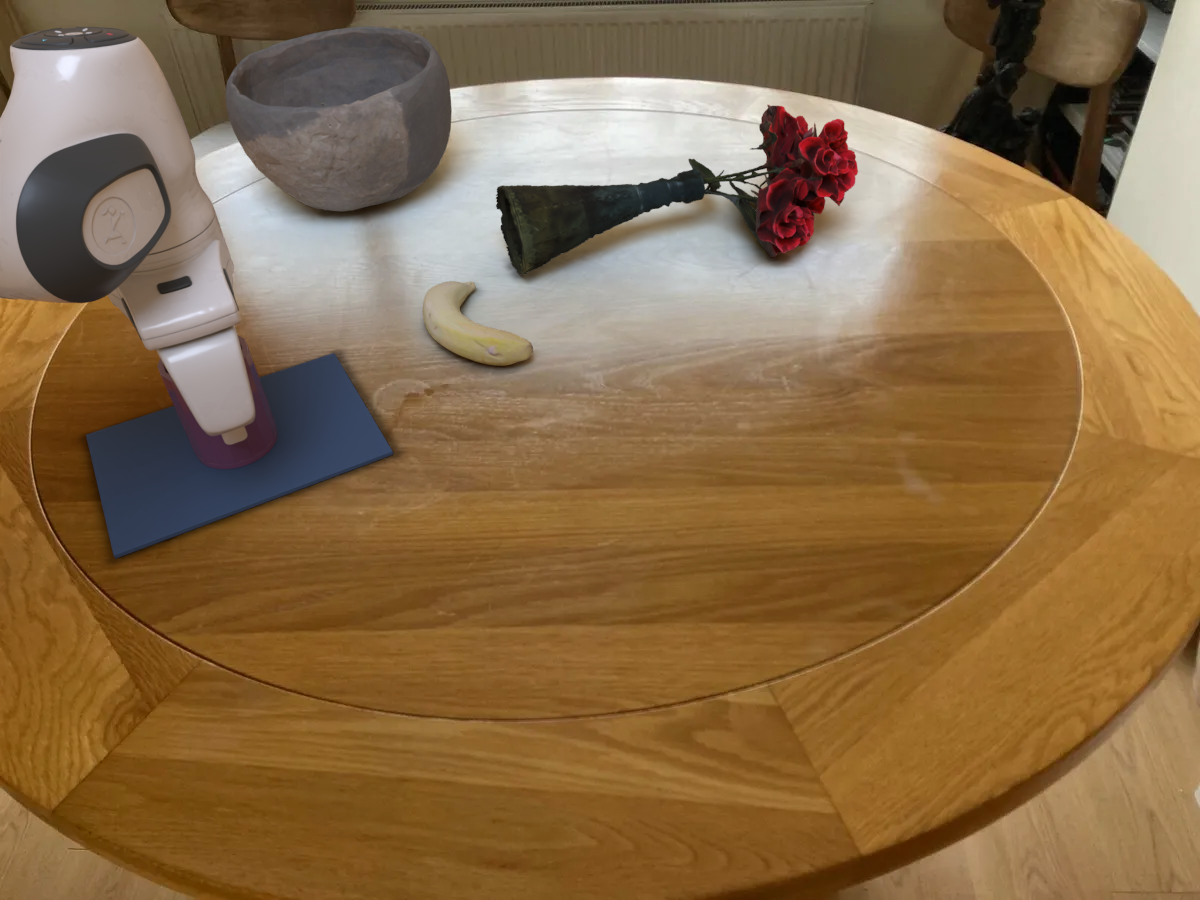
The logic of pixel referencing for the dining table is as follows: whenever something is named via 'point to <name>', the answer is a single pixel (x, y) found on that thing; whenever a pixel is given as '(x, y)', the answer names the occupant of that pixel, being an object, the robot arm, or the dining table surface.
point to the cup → (213, 447)
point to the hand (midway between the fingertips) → (224, 409)
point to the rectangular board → (204, 495)
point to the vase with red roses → (691, 195)
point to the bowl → (343, 115)
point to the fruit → (469, 328)
